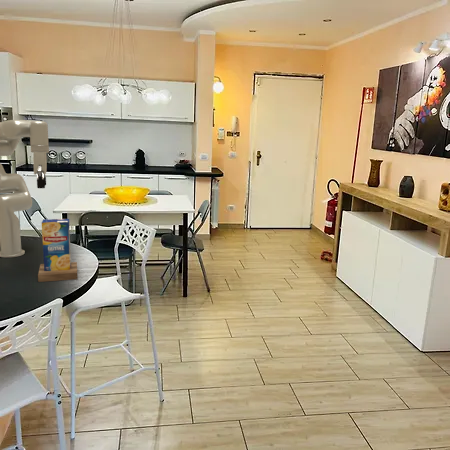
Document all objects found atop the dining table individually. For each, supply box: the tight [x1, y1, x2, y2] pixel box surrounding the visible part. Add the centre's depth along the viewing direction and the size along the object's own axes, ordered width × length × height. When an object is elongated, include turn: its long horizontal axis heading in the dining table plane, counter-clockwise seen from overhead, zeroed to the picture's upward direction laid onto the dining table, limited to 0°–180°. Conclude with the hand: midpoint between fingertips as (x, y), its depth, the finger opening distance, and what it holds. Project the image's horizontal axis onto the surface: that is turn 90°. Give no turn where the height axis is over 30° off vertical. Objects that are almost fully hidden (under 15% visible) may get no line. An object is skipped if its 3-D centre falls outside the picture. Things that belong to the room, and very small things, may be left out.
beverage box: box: [41, 218, 72, 271], centre depth 196 cm, size 7×11×22 cm, turn 106°
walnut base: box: [37, 261, 78, 283], centre depth 199 cm, size 16×16×3 cm
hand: (41, 186), depth 202 cm, fingers open, 9 cm apart
